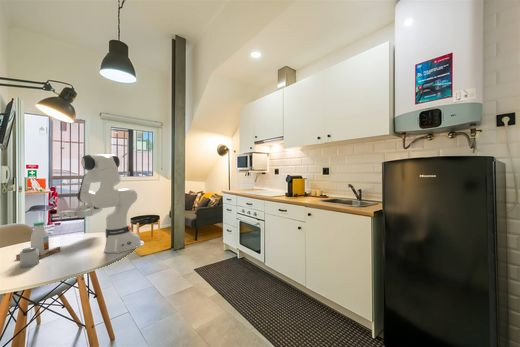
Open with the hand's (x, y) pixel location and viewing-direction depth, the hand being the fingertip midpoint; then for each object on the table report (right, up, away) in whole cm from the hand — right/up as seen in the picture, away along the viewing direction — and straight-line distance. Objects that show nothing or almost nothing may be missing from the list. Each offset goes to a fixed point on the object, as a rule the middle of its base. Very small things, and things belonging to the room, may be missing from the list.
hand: (64, 215), depth 147 cm
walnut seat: (-1, -21, -16) cm, 27 cm away
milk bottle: (-1, -21, -16) cm, 26 cm away
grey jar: (+9, -21, -30) cm, 38 cm away
